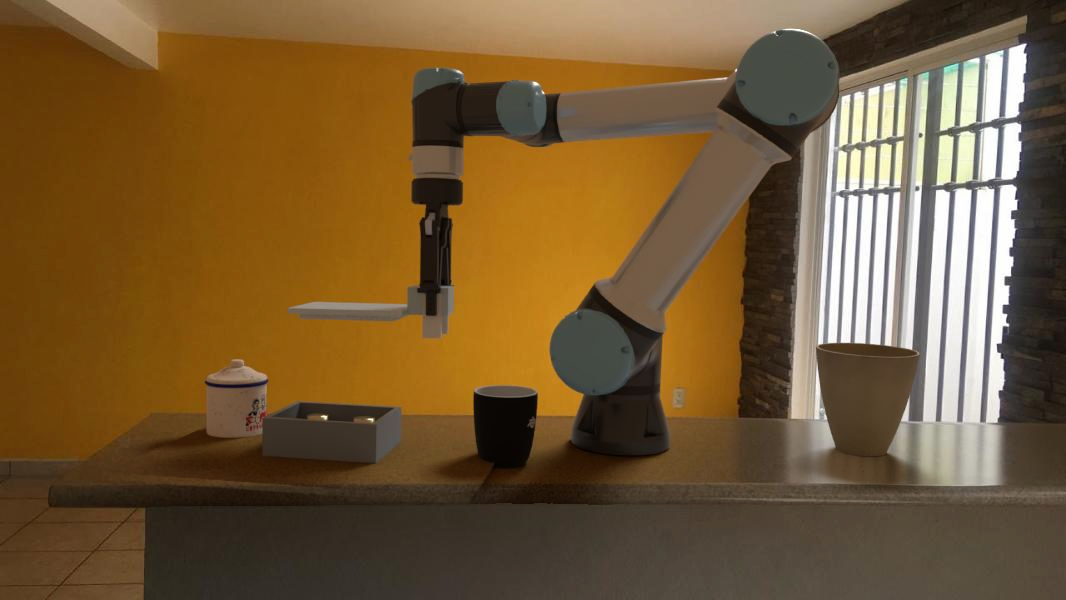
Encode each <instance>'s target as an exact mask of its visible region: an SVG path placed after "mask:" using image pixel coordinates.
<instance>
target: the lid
mask: <svg viewBox="0 0 1066 600" xmlns="http://www.w3.org/2000/svg"><path fill="white" fill-rule="evenodd" d="M417 288H420V286H419V285H411V286H407V289H406V291H407V293H406V294H407V295H406V296H407V297H406V298H407V299H406V300H407V301H406V303H405V304H404V303H372V302H371V303H369V302H368V303H366V302H363V303H362V302H339V301H338V302H337V301H335V302H334V301H333V302H330V301H329V302H327V301H313V302H308V303H303V304H299V305H295V306H291V307H288V308H287V314H288V315H291V314H292V315H299V320H322V321H323V320H327V321H328V320H329V321H331V320H332V321H364V322H367V321H368V322H369V321H370V322H396V321H398V320H401V319H403V318H405V317H407V316H410V315H411V316H423V293H418V292H417ZM440 293H442V316H448V315H449V316H450V315H452V314H454V309H455V306H454V305H455V302H454V301H455V285H454V286H441V291H440Z"/></svg>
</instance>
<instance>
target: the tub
mask: <svg viewBox="0 0 1066 600" xmlns="http://www.w3.org/2000/svg"><path fill="white" fill-rule="evenodd" d="M315 413H322V414H327V415H328V420H312V419H307V415H309V414H315ZM358 416H371V417H374V418H375V422H374V423H362V422H354V418H355V417H358ZM261 435H262V437H261V440H262V441H261V443H262V444H261V445H262V447H261V449H262V451H261V456H262V457H272V458H274V457H275V458H289V459H304V460H305V459H306V460H318V461H319V460H320V461H334V462H348V463H351V462H352V463H363V464H364V463H365V464H377V463H379V461H380V460H382V459H383V458H384V457H386V456H387V454H389V453H391V451H393V449H395V448H396V447H397V446H399V444H401V442H402V406H389V405H374V404H373V405H372V404H371V405H370V404H355V403H339V402H337V403H335V402H324V401H323V402H319V401H305V400H303V401H301V400H297V401H294V402H292V403H290V404H288V405H286V406H285V407H282V408H281V409H278V410H276V411H274V412H272V413H270V414H268V415H267V416H265V417H263V418H262V434H261Z"/></svg>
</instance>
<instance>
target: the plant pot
mask: <svg viewBox="0 0 1066 600" xmlns="http://www.w3.org/2000/svg"><path fill="white" fill-rule="evenodd" d="M815 354H816V363H817V364H816V366H817V371H818V383H819V389H820V392H821V393H820V394H821V399H822V403H823V404H822V405H823V408H824V412H825V416H826V419H827V420H826V421H827V423H828V424H827V425H828V428H829V431H830V434H831V436H832V440H833V443H834V446H835V448H836V450H837V451H839V452H842V453H845V454H848V455H853V456H860V457H881V456H884V455H886V454H887V453H888V450H889V448H890V446H891V445H892V442H893V440H894V439H895V436H896V434H897V432H898V429H899V427H900V424H901V421H902V419H903V417H904V414H905V411H906V409H907V406H908V405H907V404H908V402H909V399H910V396H911V393H912V389H913V385H914V382H915V377H916V373H917V369H918V364H919V359H920V355H921V354H920V352H919V351H917V350H915V349H909V348H906V347H900V346H892V345H886V344H885V345H884V344H875V343H874V344H873V343H862V342H861V343H860V342H826V343H819V344H816V345H815Z"/></svg>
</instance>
